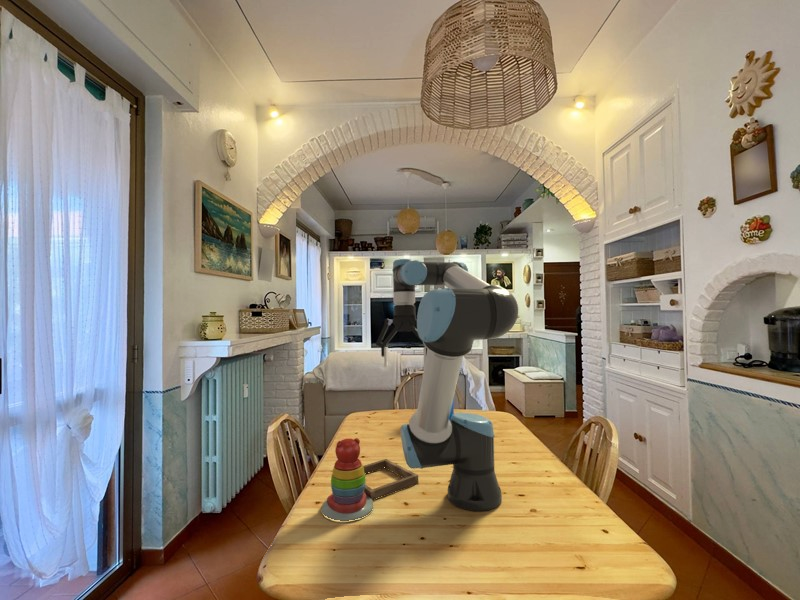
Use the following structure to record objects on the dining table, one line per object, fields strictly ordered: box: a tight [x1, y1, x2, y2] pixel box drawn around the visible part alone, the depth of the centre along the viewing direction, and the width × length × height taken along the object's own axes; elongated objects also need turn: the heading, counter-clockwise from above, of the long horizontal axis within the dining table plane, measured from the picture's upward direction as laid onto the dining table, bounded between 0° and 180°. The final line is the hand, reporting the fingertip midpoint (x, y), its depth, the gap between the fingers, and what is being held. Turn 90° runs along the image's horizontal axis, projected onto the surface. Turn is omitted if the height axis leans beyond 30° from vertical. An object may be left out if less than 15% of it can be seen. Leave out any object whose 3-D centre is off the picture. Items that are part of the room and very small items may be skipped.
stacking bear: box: [326, 437, 367, 513], centre depth 105 cm, size 11×10×18 cm
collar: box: [363, 458, 419, 501], centre depth 121 cm, size 17×17×2 cm
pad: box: [321, 495, 374, 521], centre depth 105 cm, size 14×14×1 cm
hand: (405, 366), depth 131 cm, fingers open, 13 cm apart
